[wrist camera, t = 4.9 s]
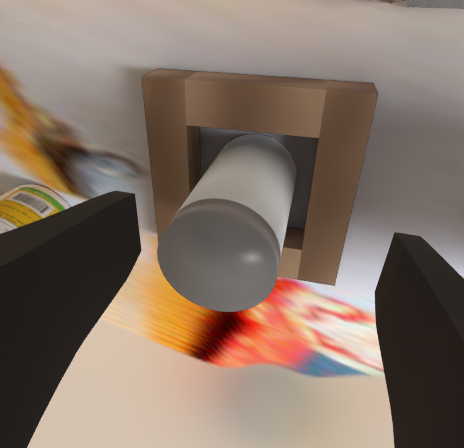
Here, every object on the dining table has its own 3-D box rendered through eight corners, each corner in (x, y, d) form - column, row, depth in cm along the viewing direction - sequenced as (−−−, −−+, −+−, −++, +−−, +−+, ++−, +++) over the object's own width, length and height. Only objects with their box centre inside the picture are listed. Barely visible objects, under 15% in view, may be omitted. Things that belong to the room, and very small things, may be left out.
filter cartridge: (301, 138, 18) (282, 222, 12) (291, 215, 21) (271, 320, 14) (214, 130, 19) (152, 204, 12) (215, 204, 21) (162, 300, 15)
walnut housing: (373, 83, 16) (378, 93, 15) (334, 263, 22) (334, 285, 20) (158, 68, 18) (141, 76, 16) (172, 238, 23) (159, 256, 22)
